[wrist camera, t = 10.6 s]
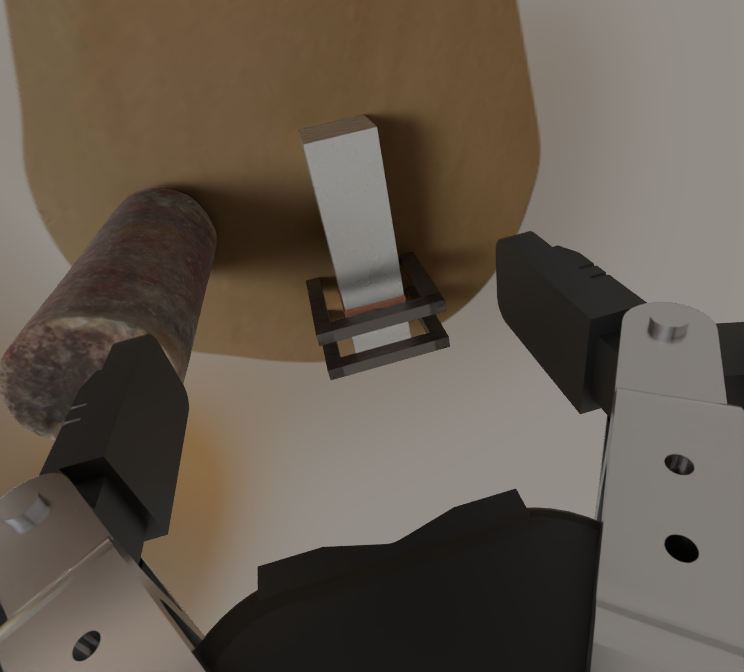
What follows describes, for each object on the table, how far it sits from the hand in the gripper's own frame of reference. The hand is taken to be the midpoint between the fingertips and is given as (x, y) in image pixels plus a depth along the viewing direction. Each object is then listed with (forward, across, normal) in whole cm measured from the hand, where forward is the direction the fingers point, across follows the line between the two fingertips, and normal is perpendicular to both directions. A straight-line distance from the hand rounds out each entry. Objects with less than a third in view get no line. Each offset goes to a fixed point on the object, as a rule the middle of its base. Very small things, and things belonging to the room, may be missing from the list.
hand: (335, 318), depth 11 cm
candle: (+28, +11, +6) cm, 31 cm away
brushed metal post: (+28, -3, +10) cm, 30 cm away
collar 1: (+28, -3, +14) cm, 32 cm away
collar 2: (+28, -3, +18) cm, 33 cm away
